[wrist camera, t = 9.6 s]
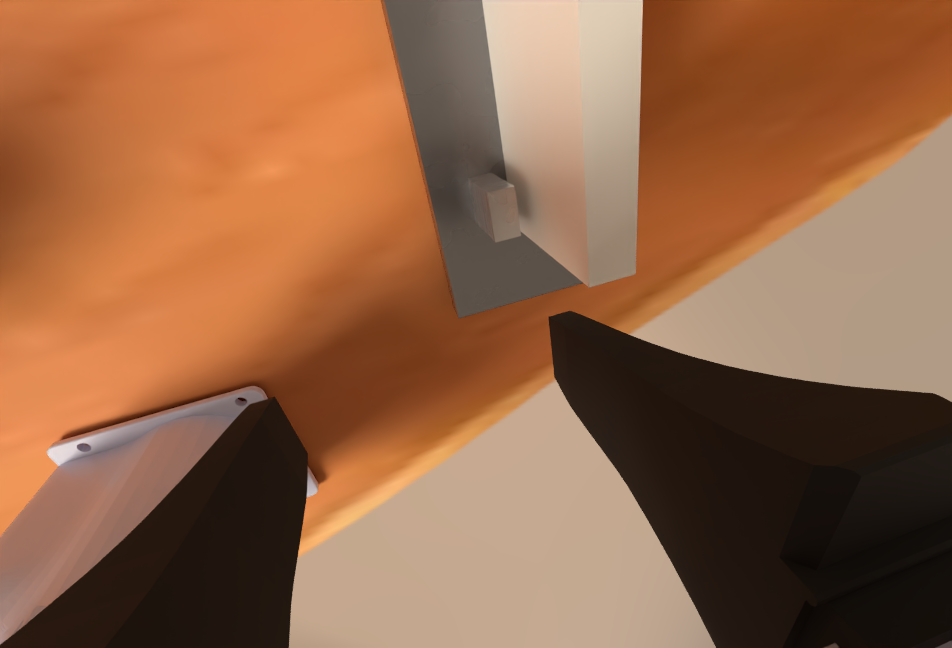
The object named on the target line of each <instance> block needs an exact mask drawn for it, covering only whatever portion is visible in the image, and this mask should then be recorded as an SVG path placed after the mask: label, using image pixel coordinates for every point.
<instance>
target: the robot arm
mask: <svg viewBox="0 0 952 648" xmlns="http://www.w3.org/2000/svg"><path fill="white" fill-rule="evenodd" d="M549 326H550V336H551V346H552V356H553V366H554V376H555V379H556V380H557V382H558V384H559V386H560V388H561V390H562V392H563V394H564V395H565V397H566V399H567V401H568V402H569V404H570V406H571V407H572V409H573V410H574V412H575V413H576V415H577V416H578V417H579V419H580V420H581V422H582V423H583V424H584V426H585V427H586V428H587V430H588V431H589V433H590V434H591V435H592V437H593V438H594V439H595V441H596V442H597V444H598V445H599V446H600V447H601V449H602V450H603V452H604V453H605V454H606V456H607V457H608V458H609V460H610V461H611V462H612V464H613V465H614V467H615V468H616V469H617V471H618V472H619V473H620V475H621V477H622V478H623V480H624V481H625V483H626V484H627V486H628V487H629V489H630V491H631V492H632V494H633V496H634V497H635V499H636V501H637V502H638V504H639V506H640V508H641V509H642V511H643V513H644V514H645V516H646V518H647V519H648V521H649V523H650V525H651V526H652V528H653V530H654V532H655V534H656V535H657V537H658V539H659V541H660V542H661V544H662V546H663V547H664V550H665V551H666V553H667V555H668V557H669V558H670V560H671V562H672V564H673V566H674V568H675V569H676V571H677V573H678V575H679V577H680V579H681V581H682V582H683V584H684V586H685V588H686V590H687V592H688V593H689V596H690V597H691V599H692V601H693V603H694V605H695V607H696V609H697V611H698V613H699V615H700V617H701V619H702V621H703V623H704V625H705V627H706V629H707V630H708V632H709V634H710V636H711V638H712V640H713V642H714V644H715V646H716V648H952V402H950V401H948V400H947V399H945V398H943V397H941V396H939V395H936V394H933V393H921V392H909V391H897V390H884V389H873V388H860V387H850V386H842V385H834V384H826V383H819V382H811V381H804V380H798V379H792V378H785V377H778V376H773V375H769V374H763V373H759V372H753V371H748V370H743V369H739V368H734V367H729V366H726V365H722V364H718V363H714V362H710V361H706V360H703V359H698V358H695V357H692V356H688V355H685V354H681V353H678V352H675V351H672V350H669V349H666V348H663V347H661V346H658V345H655V344H652V343H649V342H646V341H644V340H641V339H638V338H636V337H633V336H631V335H628V334H626V333H623V332H621V331H618V330H616V329H614V328H611V327H609V326H606V325H604V324H602V323H599V322H597V321H595V320H592V319H590V318H587V317H585V316H582V315H580V314H577V313H575V312H572V311H568V312H564V313H561V314H557V315H554V316H550V317H549ZM238 398H245V399H246V401H240V400H239V399H238ZM83 443H86V444H88V445H85V444H83ZM89 445H90V446H89ZM47 454H48V456H49V457H50V458H51V459H52V460H53V461H54V462H55V463H56V464H57V465H58V467H57V469H56V470H55V471H54V472H53V474H52V475H51V476H50V477H49V478H48V480H47V481H46V482H45V483H44V484H43V486H42V487H41V488H40V489H39V491H38V492H37V493H36V494H35V495H34V497H33V498H32V499H31V500H30V501H29V503H28V504H27V505H26V506H25V507H24V509H23V510H22V511H21V512H20V514H19V515H18V516H17V517H16V518H15V520H14V521H13V522H12V523H11V524H10V526H9V527H8V528H7V529H6V530H5V532H4V533H3V534H2V535H1V537H0V648H289V632H290V613H291V600H292V591H293V583H294V576H295V570H296V563H297V557H298V550H299V544H300V538H301V531H302V525H303V518H304V511H305V504H306V497H309V496H312V495H314V494H316V493H317V492H318V487H319V485H318V482H317V480H316V479H315V477H314V475H313V474H312V472H311V470H310V468H309V467H308V453H307V452H306V450H305V448H304V447H303V445H302V443H301V441H300V440H299V438H298V436H297V434H296V433H295V431H294V429H293V428H292V426H291V424H290V422H289V421H288V419H287V417H286V415H285V414H284V412H283V410H282V408H281V407H280V405H279V403H278V402H277V400H276V398H275V397H273V398H269V399H268V397H267V396H266V394H265V392H264V391H263V390H262V389H261V388H259V387H256V386H249V387H245V388H242V389H238V390H235V391H231V392H228V393H224V394H221V395H217V396H214V397H210V398H207V399H203V400H200V401H196V402H193V403H189V404H186V405H182V406H179V407H175V408H172V409H168V410H165V411H161V412H158V413H154V414H151V415H148V416H144V417H141V418H137V419H134V420H130V421H127V422H123V423H120V424H116V425H113V426H109V427H106V428H102V429H99V430H95V431H92V432H88V433H85V434H81V435H78V436H74V437H71V438H67V439H64V440H60V441H57V442H55V443H53V444H52V445H51V447H50V448H49V449H48V450H47Z"/></svg>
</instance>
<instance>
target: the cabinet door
mask: <svg viewBox="0 0 952 648" xmlns="http://www.w3.org/2000/svg"><path fill="white" fill-rule="evenodd" d="M482 3H483V10H484V18H485V25H486V32H487V39H488V47H489V54H490V61H491V69H492V76H493V83H494V90H495V98H496V105H497V112H498V120H499V127H500V134H501V141H502V149H503V156H504V163H505V171H506V178H507V182H508V183H510V184H512V185H514V186H515V191H516V199H517V207H518V215H519V223H520V231H521V232H522V233H523V234H525V235H526V236H527V237H528V238H529V239H531V240H532V241H533V242H534V243H536V244H537V245H538V246H539V247H540V248H542V249H543V250H544V251H545V252H546V253H548V254H549V255H550V256H551V257H553V258H554V259H555V260H556V261H557V262H559V263H560V264H561V265H562V266H563V267H565V268H566V269H567V270H568V271H570V272H571V273H572V274H573V275H574V276H576V277H577V278H578V279H579V280H580V281H582V282H583V283H584V284H585V285H587V286H588V287H589V288H590V287H593V286H597V285H600V284H604V283H607V282H611V281H614V280H618V279H621V278H624V277H628V276H631V275H635V274H636V245H637V207H638V168H639V130H640V91H641V53H642V15H643V0H482Z"/></svg>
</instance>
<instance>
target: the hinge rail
mask: <svg viewBox="0 0 952 648" xmlns="http://www.w3.org/2000/svg"><path fill="white" fill-rule="evenodd" d="M381 3H382V7H383V12H384V16H385V20H386V24H387V29H388V33H389V37H390V41H391V45H392V50H393V54H394V58H395V62H396V66H397V71H398V75H399V79H400V83H401V87H402V92H403V96H404V100H405V104H406V108H407V113H408V117H409V121H410V125H411V129H412V134H413V138H414V142H415V146H416V150H417V155H418V159H419V163H420V167H421V171H422V176H423V180H424V184H425V188H426V192H427V197H428V201H429V205H430V209H431V213H432V218H433V222H434V226H435V230H436V235H437V239H438V243H439V247H440V251H441V256H442V260H443V264H444V268H445V272H446V277H447V281H448V285H449V289H450V293H451V298H452V302H453V306H454V309H455V311H456V313H457V316H458V318H462V317H465V316H469V315H472V314H476V313H479V312H483V311H486V310H490V309H493V308H497V307H500V306H504V305H507V304H511V303H515V302H518V301H522V300H525V299H529V298H532V297H536V296H539V295H543V294H546V293H550V292H553V291H557V290H560V289H564V288H567V287H571V286H574V285H578V284H581V283H583V282H582V281H580V280H579V279H578V278H577V277H576V276H574V275H573V274H572V273H571V272H570V271H568V270H567V269H566V268H565V267H563V266H562V265H561V264H560V263H559V262H557V261H556V260H555V259H554V258H553V257H551V256H550V255H549V254H548V253H546V252H545V251H544V250H543V249H542V248H540V247H539V246H538V245H537V244H536V243H534V242H533V241H532V240H531V239H529V238H528V237H527V236H526V235H525V234H523V233H522V232H521V231H520V223H519V215H518V207H517V199H516V191H515V186H514V185H512V184H510V183H508V182H507V178H506V171H505V163H504V156H503V149H502V141H501V134H500V127H499V120H498V112H497V105H496V98H495V90H494V83H493V76H492V69H491V61H490V54H489V47H488V39H487V32H486V25H485V18H484V10H483V3H482V0H381Z"/></svg>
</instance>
